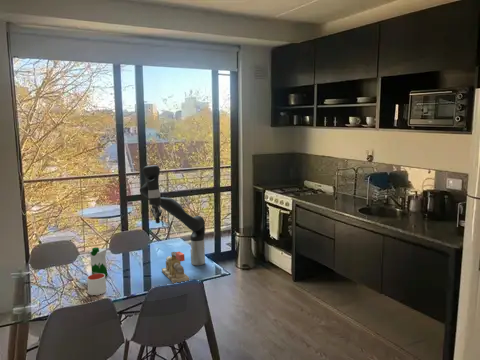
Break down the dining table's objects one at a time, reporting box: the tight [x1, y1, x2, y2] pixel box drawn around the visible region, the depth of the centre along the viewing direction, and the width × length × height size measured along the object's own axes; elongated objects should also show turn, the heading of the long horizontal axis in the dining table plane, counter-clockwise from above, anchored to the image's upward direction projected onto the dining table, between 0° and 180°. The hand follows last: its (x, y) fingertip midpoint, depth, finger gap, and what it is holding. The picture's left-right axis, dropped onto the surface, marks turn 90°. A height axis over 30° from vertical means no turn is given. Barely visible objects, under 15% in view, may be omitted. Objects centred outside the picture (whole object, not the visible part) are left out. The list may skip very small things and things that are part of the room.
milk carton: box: [88, 247, 109, 278], centre depth 265 cm, size 9×9×20 cm
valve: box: [161, 255, 190, 284], centre depth 264 cm, size 24×10×14 cm, turn 28°
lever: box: [170, 251, 185, 262], centre depth 258 cm, size 3×15×4 cm, turn 33°
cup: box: [86, 273, 107, 296], centre depth 241 cm, size 10×10×10 cm
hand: (157, 223), depth 265 cm, fingers closed
